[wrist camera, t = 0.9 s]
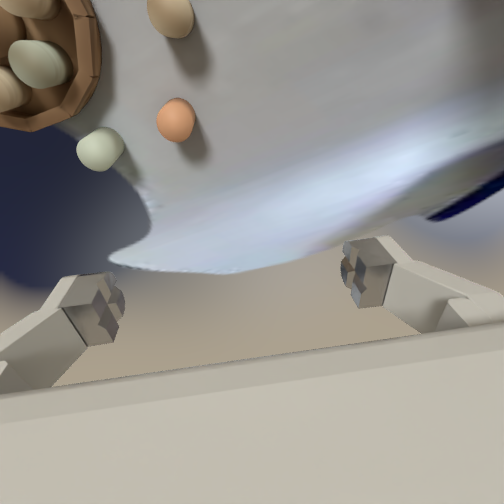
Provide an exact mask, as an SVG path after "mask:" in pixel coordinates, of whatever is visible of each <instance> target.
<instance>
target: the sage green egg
mask: <svg viewBox="0 0 504 504" xmlns="http://www.w3.org/2000/svg"><path fill="white" fill-rule="evenodd" d="M123 151H124V142H123V139H122V137H121V136H120V135H119V134H118V133H117V132H116V131H115V130H113V129H111V128H108V127H100V128H98V129H96V130H95V131H93V132H92V133H90V134H89V135H88V136H86V137H85V138H83V139H82V140H80V141H79V143H78V145H77V155H78V157H79V159H80V161H81V162H82V163H83V164H84V165H85V166H86V167H88V168H90V169H92V170H95V171H104V170H107V169H109V168H110V167H111V166H112V164H113V163H114V162H115V161H116V160H117V159H118V158H119V157H120V155H121V154H122V153H123Z"/></svg>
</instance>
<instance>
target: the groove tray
mask: <svg viewBox="0 0 504 504" xmlns="http://www.w3.org/2000/svg"><path fill="white" fill-rule="evenodd" d="M101 63H102V48H101V39H100V32H99V28H98V23H97V19H96V16H95V13H94V10H93V7H92V4H91V1H90V0H0V126H1V127H7V128H11V129H17V130H22V131H27V132H34V131H36V130H39V129H42V128H45V127H47V126H50V125H52V124H55V123H58V122H61V121H63V120H66V119H68V118H71V117H73V116H75V115H77V114H78V113H79V112H80V110H81V109H82V108H83V107H84V106H85V105H86V104H87V102H88V101H89V99H90V98H91V96H92V95H93V93H94V91H95V88H96V86H97V83H98V80H99V76H100V70H101Z"/></svg>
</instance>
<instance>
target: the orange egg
mask: <svg viewBox="0 0 504 504" xmlns="http://www.w3.org/2000/svg"><path fill="white" fill-rule="evenodd" d="M194 122H195V112H194V109H193V107H192V106H191V104H190V103H189V102H187V101H186V100H184V99H181V98H174V99H171V100H169V101H168V102H167V103H166V104H165V105H164V107H163V108H162V109H161V110H160V111H159V113H158V115H157V127H158V130H159V132H160V133H161V135H162V136H163V137H164V138H166V139H167V140H169V141H172V142H182V141H184V140H186V139H187V138H188V137H189V136H190V134H191V132H192V129H193V125H194Z"/></svg>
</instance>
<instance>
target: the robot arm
mask: <svg viewBox="0 0 504 504" xmlns="http://www.w3.org/2000/svg"><path fill="white" fill-rule="evenodd" d="M343 253H344V255H345V258H344V259H343V260H342V261H341V276H342V279H343V282H344V284H345V285H346V287H348V288H350V289H352V290H351V296H352V298H353V300H354V302H355V303H356V305H357V307H358V308H367V307H376V306H383V307H384V308H385V309H386V310H388V311H390V312H391V313H392V314H394V315H395V316H397V317H398V318H400V319H401V320H403V321H404V322H405V323H407V324H408V325H410V326H411V327H413V328H414V329H416V330H417V331H419V332H420V333H421V334H417V335H411V336H404V337H397V338H390V339H383V340H377V341H369V342H363V343H355V344H348V345H341V346H335V347H328V348H320V349H313V350H306V351H300V352H292V353H285V354H278V355H271V356H264V357H257V358H250V359H243V360H236V361H230V362H223V363H215V364H209V365H202V366H195V367H188V368H181V369H174V370H168V371H160V372H153V373H146V374H140V375H132V376H125V377H118V378H111V379H105V380H97V381H91V382H83V383H76V384H69V385H62V386H56V387H51V386H52V385H53V384H54V383H55V382H56V381H57V380H58V379H59V378H60V377H61V376H62V375H63V374H64V373H65V372H66V370H67V369H68V368H69V367H70V366H71V365H72V364H73V363H74V362H75V361H76V360H77V359H78V358H79V357H80V356H81V355H82V353H83V352H84V351H85V350H86V349H87V347H88V346H95V345H101V344H107V343H113V342H114V340H115V337H116V334H117V331H118V328H119V325H118V323H117V321H118V320H119V319H120V318H121V317H123V314H124V310H125V300H124V296H123V293H122V291H121V290H120V289H118V288H117V287H115V283H116V278H115V276H114V275H113V273H111V272H100V273H91V274H82V275H73V276H66V277H63V278H61V280H60V281H59V283H58V284H57V285H56V287H55V288H54V290H53V291H52V293H51V294H50V296H49V297H48V299H47V300H46V302H45V303H44V304H43V306H42V307H41V309H40V310H39V311H35V312H33V313H31V314H30V315H28V316H27V317H25V318H24V319H22V320H21V321H19V322H18V323H16V324H15V325H13V326H12V327H10V328H8V329H7V330H6V331H4V332H2V333H1V334H0V504H504V297H503V296H502V295H501V294H500V293H499V292H497V291H495V290H492V289H490V288H487V287H485V286H482V285H480V284H477V283H475V282H472V281H469V280H467V279H464V278H462V277H459V276H457V275H454V274H451V273H449V272H446V271H444V270H441V269H439V268H436V267H433V266H431V265H428V264H426V263H423V262H421V261H413V260H412V259H411V258H410V257H409V255H408V254H406V252H405V251H404V250H403V249H402V248H401V247H400V246H399V245H398V244H397V243H396V242H395V241H394V240H393V239H392V238H391V237H390V236H388V235H384V236H378V237H373V238H367V239H360V240H353V241H345V243H344V245H343Z"/></svg>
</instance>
